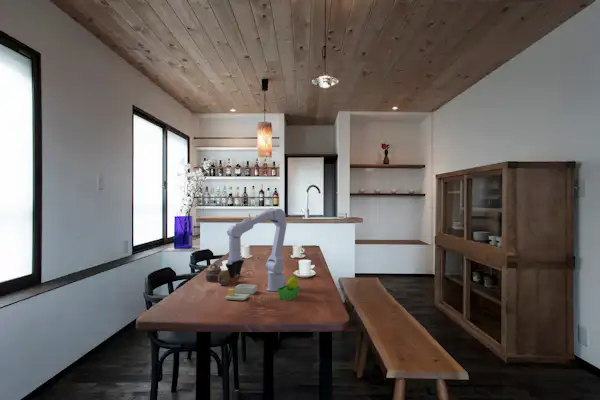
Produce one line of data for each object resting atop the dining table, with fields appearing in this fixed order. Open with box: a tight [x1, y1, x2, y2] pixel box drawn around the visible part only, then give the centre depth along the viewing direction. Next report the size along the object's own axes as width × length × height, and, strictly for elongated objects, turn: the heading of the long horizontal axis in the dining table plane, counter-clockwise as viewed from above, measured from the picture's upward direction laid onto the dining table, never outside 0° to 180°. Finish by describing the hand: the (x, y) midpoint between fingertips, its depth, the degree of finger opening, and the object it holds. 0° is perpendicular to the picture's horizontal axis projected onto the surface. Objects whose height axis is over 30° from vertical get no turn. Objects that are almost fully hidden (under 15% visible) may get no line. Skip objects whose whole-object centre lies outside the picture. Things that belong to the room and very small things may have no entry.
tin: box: [218, 269, 241, 286], centre depth 208 cm, size 15×3×8 cm, turn 143°
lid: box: [224, 288, 251, 301], centre depth 176 cm, size 10×7×5 cm
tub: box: [234, 283, 258, 296], centre depth 188 cm, size 10×7×4 cm
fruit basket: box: [276, 275, 301, 301], centre depth 178 cm, size 11×9×11 cm
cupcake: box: [204, 263, 222, 283], centre depth 215 cm, size 10×10×10 cm
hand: (235, 276), depth 181 cm, fingers open, 7 cm apart
